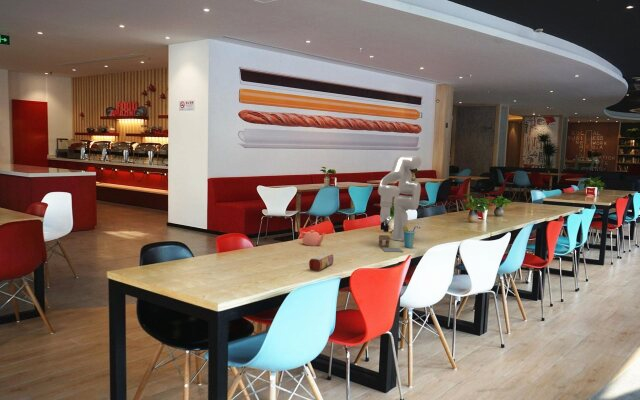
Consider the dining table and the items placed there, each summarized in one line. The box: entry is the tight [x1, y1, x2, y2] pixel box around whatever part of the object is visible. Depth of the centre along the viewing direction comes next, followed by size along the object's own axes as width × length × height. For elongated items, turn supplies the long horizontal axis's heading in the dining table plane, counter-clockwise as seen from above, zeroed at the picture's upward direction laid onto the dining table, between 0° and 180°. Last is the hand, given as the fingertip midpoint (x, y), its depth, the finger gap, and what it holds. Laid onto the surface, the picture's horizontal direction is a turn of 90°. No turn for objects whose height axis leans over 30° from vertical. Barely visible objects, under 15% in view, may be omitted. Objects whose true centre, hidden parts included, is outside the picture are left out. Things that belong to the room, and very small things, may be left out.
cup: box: [403, 225, 421, 249], centre depth 371 cm, size 14×8×15 cm, turn 50°
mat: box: [380, 246, 404, 253], centre depth 360 cm, size 12×12×1 cm
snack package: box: [308, 252, 334, 272], centre depth 301 cm, size 21×7×7 cm, turn 159°
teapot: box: [300, 229, 326, 247], centre depth 365 cm, size 12×18×10 cm
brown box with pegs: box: [378, 234, 391, 248], centre depth 371 cm, size 6×6×7 cm
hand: (384, 230), depth 370 cm, fingers open, 9 cm apart
